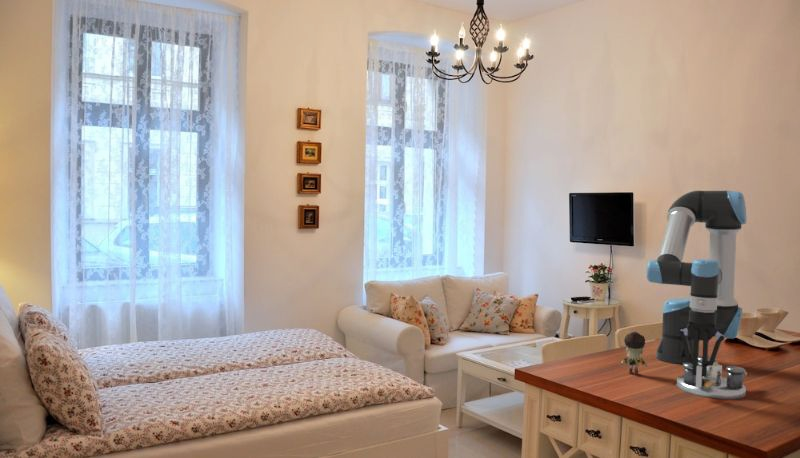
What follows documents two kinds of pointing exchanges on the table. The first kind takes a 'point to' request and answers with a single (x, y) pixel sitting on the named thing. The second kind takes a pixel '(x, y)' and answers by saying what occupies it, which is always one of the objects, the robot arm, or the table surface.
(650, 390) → the table surface
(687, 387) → the tribrach plate
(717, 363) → the knob
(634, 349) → the toy
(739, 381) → the knob
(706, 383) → the knob
